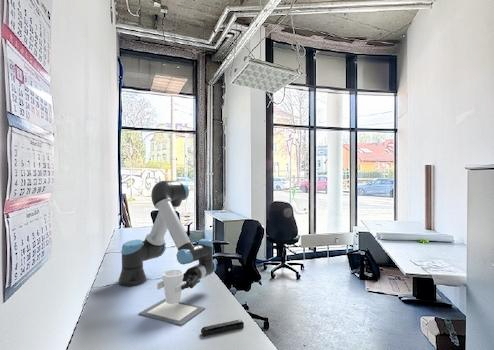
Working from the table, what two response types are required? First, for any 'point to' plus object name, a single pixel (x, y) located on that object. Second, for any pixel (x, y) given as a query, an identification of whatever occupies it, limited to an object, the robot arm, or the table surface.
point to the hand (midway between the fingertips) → (166, 288)
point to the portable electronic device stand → (222, 327)
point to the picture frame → (172, 312)
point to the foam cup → (172, 285)
